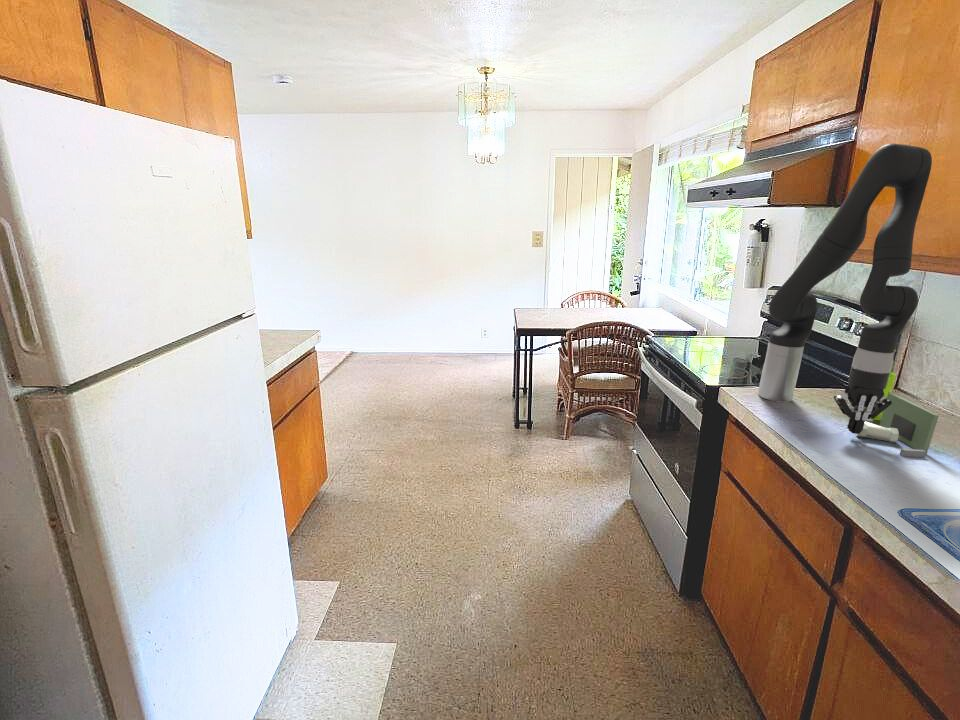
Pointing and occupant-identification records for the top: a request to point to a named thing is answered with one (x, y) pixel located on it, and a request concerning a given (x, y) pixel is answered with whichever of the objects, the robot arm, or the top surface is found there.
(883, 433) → the pipe fitting
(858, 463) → the top surface
